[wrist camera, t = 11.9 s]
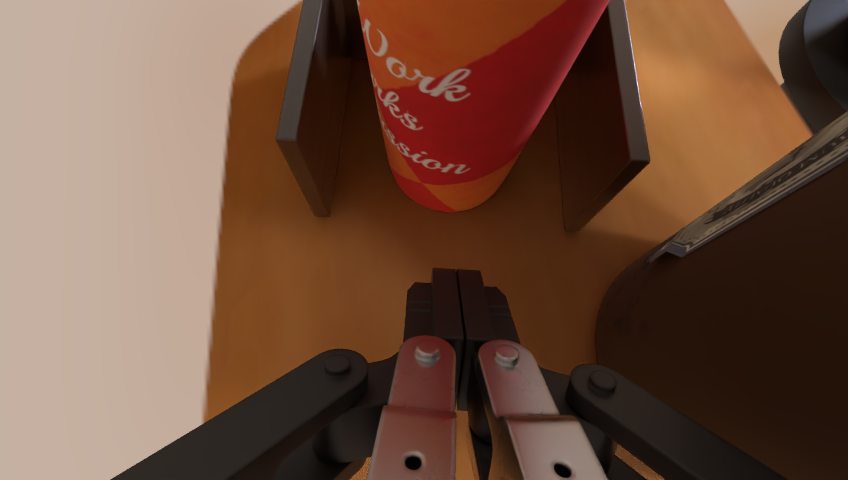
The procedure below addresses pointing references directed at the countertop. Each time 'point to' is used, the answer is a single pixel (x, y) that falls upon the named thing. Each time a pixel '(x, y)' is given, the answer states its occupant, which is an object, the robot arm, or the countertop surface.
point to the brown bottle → (750, 314)
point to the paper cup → (466, 86)
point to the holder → (575, 101)
